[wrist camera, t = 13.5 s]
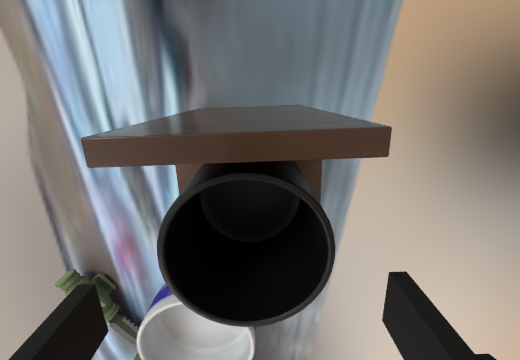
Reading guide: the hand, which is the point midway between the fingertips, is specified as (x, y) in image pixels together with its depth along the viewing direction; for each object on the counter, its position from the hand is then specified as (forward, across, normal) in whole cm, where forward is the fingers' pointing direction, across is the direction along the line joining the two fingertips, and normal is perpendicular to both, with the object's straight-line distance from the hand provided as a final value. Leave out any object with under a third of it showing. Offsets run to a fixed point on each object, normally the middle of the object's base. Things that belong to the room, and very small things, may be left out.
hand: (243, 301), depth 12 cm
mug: (+11, 0, -1) cm, 11 cm away
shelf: (+22, 0, 0) cm, 23 cm away
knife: (+21, -23, -22) cm, 38 cm away
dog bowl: (+22, -8, -22) cm, 32 cm away
